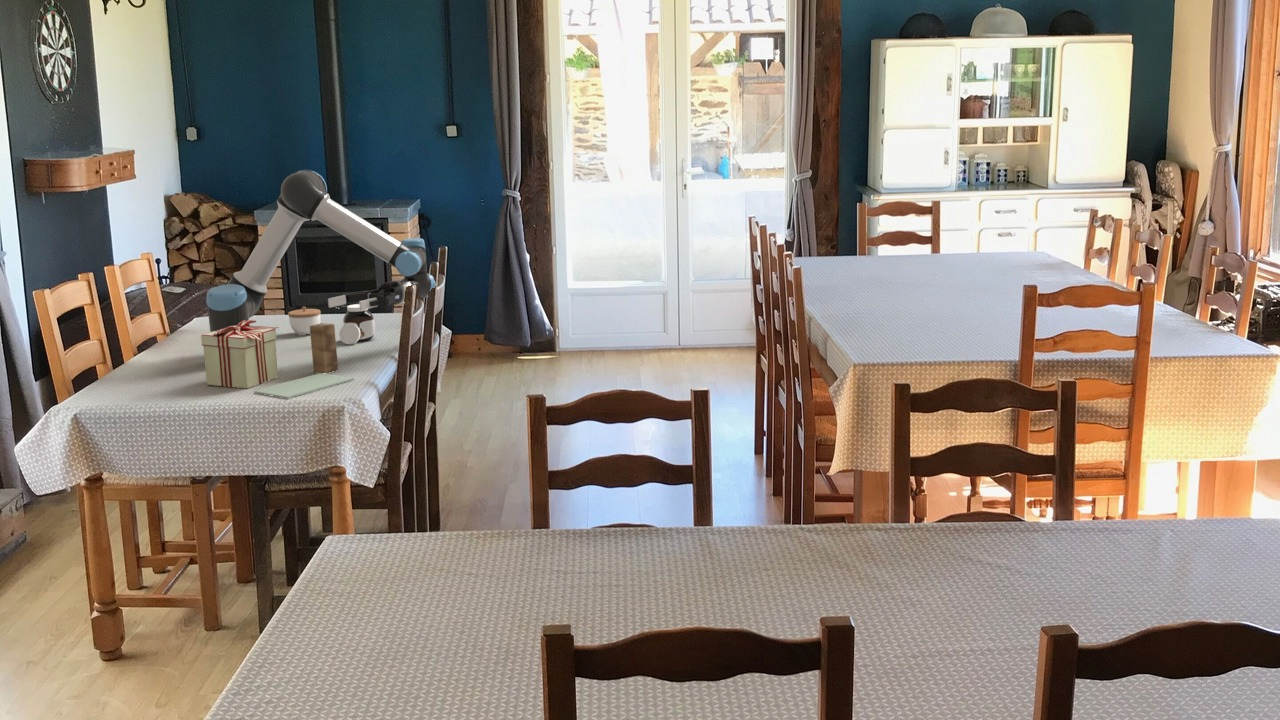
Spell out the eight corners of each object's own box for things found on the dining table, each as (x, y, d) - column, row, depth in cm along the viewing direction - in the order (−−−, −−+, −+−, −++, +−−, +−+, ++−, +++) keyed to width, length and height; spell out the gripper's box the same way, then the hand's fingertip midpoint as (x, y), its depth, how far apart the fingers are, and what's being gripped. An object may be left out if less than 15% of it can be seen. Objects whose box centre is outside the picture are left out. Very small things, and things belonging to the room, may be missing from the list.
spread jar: (374, 336, 413) (371, 302, 411) (378, 343, 403) (375, 308, 400) (337, 340, 410) (334, 305, 407) (340, 346, 399) (337, 311, 397)
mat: (320, 374, 360) (320, 373, 360) (353, 380, 352) (353, 378, 352) (254, 393, 341) (254, 391, 340) (288, 399, 333) (288, 397, 333)
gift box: (260, 389, 344) (254, 330, 341) (203, 387, 349) (196, 328, 346) (292, 375, 360) (287, 318, 357) (237, 373, 365) (231, 316, 362)
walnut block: (326, 368, 368) (322, 322, 365) (338, 370, 365) (334, 323, 362) (313, 372, 364) (309, 325, 361) (325, 373, 361) (321, 326, 358)
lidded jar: (328, 332, 423) (326, 305, 421) (305, 338, 414) (302, 310, 412) (307, 329, 429) (304, 303, 427) (283, 335, 420) (281, 308, 418)
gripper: (425, 306, 379) (375, 319, 362) (368, 301, 393) (317, 314, 376) (423, 282, 377) (372, 294, 360) (366, 278, 391) (314, 289, 374)
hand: (344, 304), depth 368 cm, fingers open, 13 cm apart
